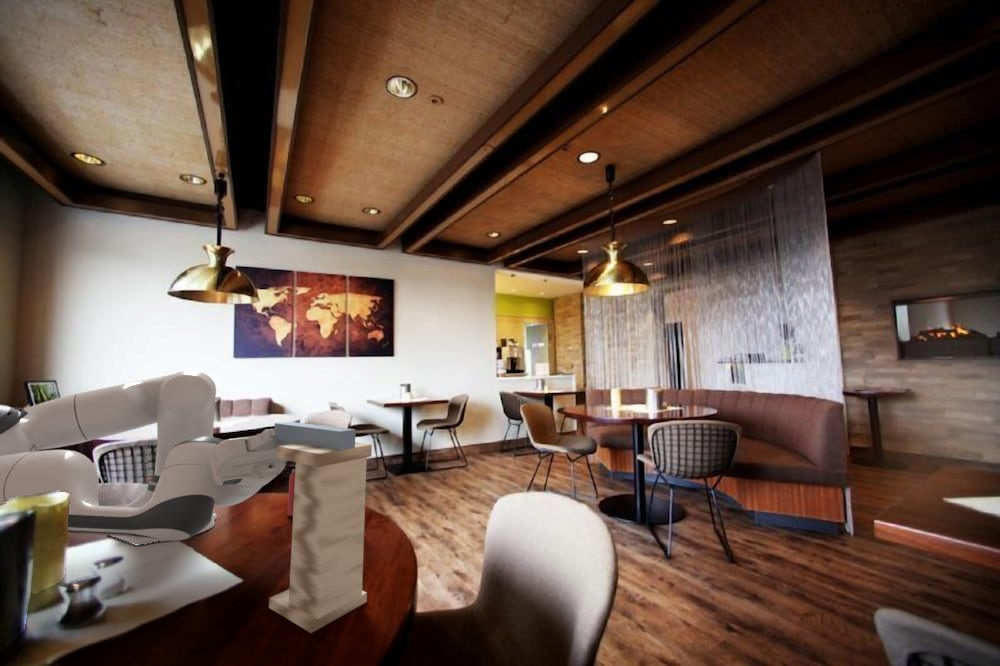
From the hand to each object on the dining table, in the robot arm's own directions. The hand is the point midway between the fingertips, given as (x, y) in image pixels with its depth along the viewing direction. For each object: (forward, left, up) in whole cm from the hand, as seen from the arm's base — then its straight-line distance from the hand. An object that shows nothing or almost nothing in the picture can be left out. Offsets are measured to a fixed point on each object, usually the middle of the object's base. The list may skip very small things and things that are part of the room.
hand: (295, 430), depth 76 cm
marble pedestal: (+9, -3, -28) cm, 29 cm away
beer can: (-26, +33, -28) cm, 51 cm away
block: (+5, -2, -2) cm, 6 cm away
